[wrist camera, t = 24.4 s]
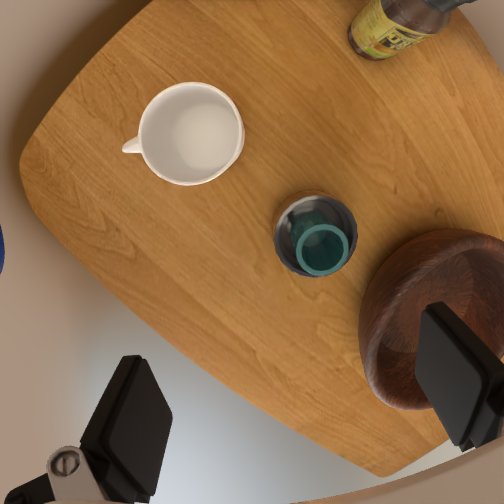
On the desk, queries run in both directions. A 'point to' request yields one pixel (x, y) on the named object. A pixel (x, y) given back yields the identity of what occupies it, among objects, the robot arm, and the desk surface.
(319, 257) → the cup
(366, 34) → the sauce bottle
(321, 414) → the desk surface
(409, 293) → the wooden bowl
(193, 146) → the mug
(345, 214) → the bowl
